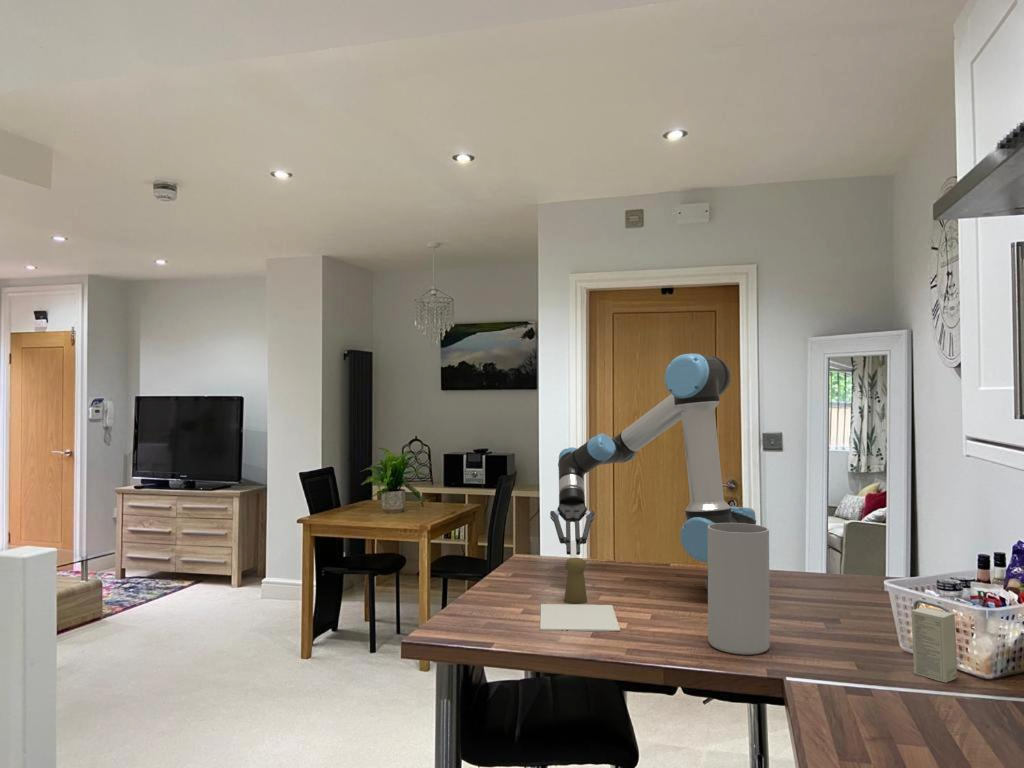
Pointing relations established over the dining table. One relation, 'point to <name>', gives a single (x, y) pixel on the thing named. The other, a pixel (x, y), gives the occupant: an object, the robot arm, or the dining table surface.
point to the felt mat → (578, 618)
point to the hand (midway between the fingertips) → (573, 563)
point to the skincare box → (934, 644)
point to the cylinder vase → (738, 588)
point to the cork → (575, 581)
